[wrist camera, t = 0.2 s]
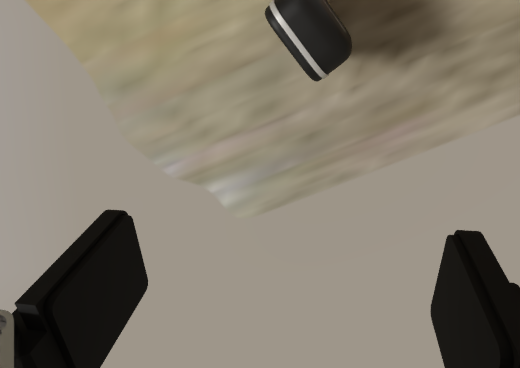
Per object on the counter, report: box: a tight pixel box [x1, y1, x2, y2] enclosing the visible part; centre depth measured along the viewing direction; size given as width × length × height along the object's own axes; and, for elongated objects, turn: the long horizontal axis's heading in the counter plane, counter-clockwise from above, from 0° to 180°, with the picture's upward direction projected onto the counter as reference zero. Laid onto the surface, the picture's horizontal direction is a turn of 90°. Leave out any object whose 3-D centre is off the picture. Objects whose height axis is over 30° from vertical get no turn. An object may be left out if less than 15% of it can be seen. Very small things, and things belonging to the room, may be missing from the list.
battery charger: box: [265, 0, 352, 81], centre depth 32 cm, size 7×4×11 cm, turn 40°
